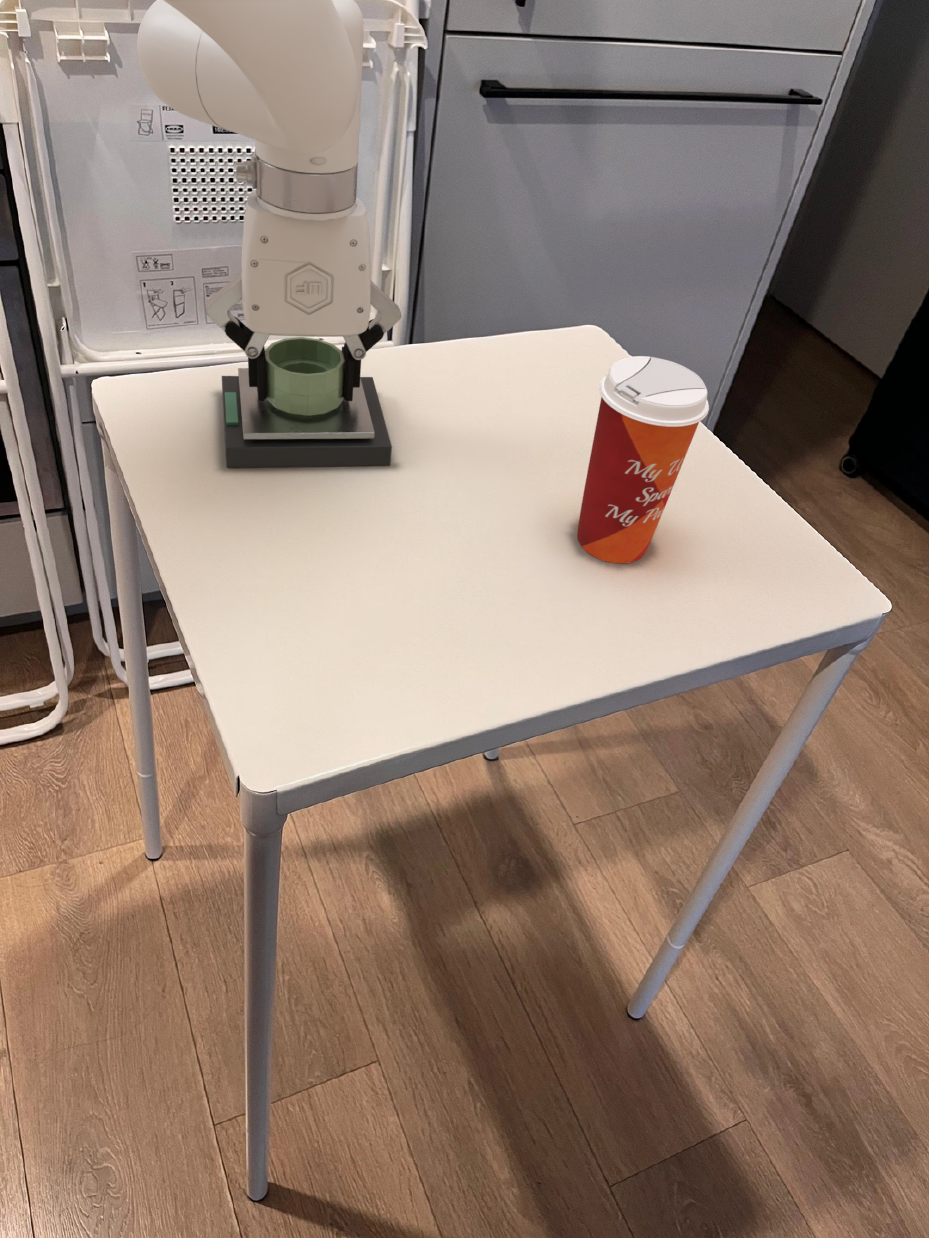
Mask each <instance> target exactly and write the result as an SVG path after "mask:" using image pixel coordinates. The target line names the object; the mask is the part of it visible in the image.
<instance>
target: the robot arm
mask: <svg viewBox="0 0 929 1238" xmlns="http://www.w3.org/2000/svg"><path fill="white" fill-rule="evenodd" d="M363 17H364V16H363V13H362V10H361V8H360V6H359V4H358V3H357V2H356V1H355V0H154V2H153V3H152V4H151V5H150V6H149V8H148V9H147V10H146V12H145V14H144V15H143V17H142V19H141V22H140V25H139V27H138V32H137V36H136V53H137V54H136V55H137V62H138V65H139V68H140V71H141V74H142V76H143V78H144V80H145V82H146V84H147V86H148V87H149V89H151V91H152V93H154V95H155V96H156V97H157V98H158V99H159V101H161V102H162V103H164V104H165V105H167V106H168V107H169V108H171V109H172V110H174V111H176V112H178V113H179V114H181V115H184V116H186V117H188V118H190V119H193V120H196V121H198V122H200V123H204V124H207V125H209V126H213V127H216V128H219V129H221V130H225V131H227V132H232V133H235V134H237V135H241V136H244V137H246V138H248V139H252V140H254V156H250V157H251V158H250V159H251V160H245V162H242V161H239V162H238V161H236V162H235V178H236V182H238V183H246V185H251V186H252V187H251V188H252V189H253V191H251V192H250V193H249V194H248V196H247V199H246V205H245V212H244V217H243V231H242V240H241V241H242V242H241V265H240V266H241V268H240V269H241V272H240V273H239V274H238V275H236V276H235V277H234V278H233V279H232V280H230V281H229V282H228V283H227V284H226V285H224V286H223V287H222V288H221V289H219V291H217V292H216V293H214V294H213V295H212V296H211V297H210V298H209V299H207V300H206V302H205V314H206V315H207V316H208V317H209V319H211V321H212V322H213V323H215V324H216V326H217V327H218V328H219V329H221V330H222V331H224V333H225V335H226V337H227V338H229V340H231V341H232V342H233V343H234V344H235V345H237V346H238V347H239V348H240V349H241V350H242V351H243V352H244V354H245V356H246V357H247V368H248V375H249V387H257V392H258V401H264V399H267V384H266V356H265V350H266V349H265V348H266V347H265V345H266V343H267V342H268V339H269V338H270V336H276V337H277V336H278V337H279V336H280V337H326V338H327V337H332V338H333V337H336V338H337V337H338V338H339V337H340V338H343V339H344V342H345V343H343V346H341V351H342V352H343V355H344V359H345V371H344V392H343V397H344V400H346V401H352V400H353V388H359V387H360V377H361V372H362V360H364V359H365V357H367V352H369V350H371V349H372V348H373V347H374V346H376V344H377V343H379V342H380V341H381V340H382V339H383V338H384V335H385V334H386V333H387V332H389V331H390V330H391V329H392V328H393V327H394V326H395V325H396V324H397V323H398V322H399V321H400V320H401V319H402V311H401V309H400V307H399V305H398V304H397V303H396V302H395V301H394V300H392V299H391V298H390V297H389V296H388V295H387V294H386V293H385V292H384V291H383V290H382V289H381V288H379V287H380V286H378V285H377V284H376V283H374V281H372V280H371V278H372V277H371V273H372V272H371V266H372V265H371V240H370V239H371V238H370V228H369V227H370V226H369V220H368V213H367V208H366V206H365V204H364V203H363V201H362V200H361V199H360V198H358V197H357V193H358V191H357V190H358V189H357V188H358V171H359V170H358V167H359V147H360V146H359V145H360V125H361V104H362V103H361V102H362V84H363V83H362V80H363V79H362V78H363V61H364V60H363V57H364V39H365V38H364V37H365V34H364V33H365V32H364V29H365V27H364V26H365V25H364V24H365V23H364V18H363ZM240 301H241V306H242V313H243V319H244V322H242V320H240V319H239V318H238V317H236V316H234V315H233V314H232V312H231V311H230V309H232V308H233V307H234V306H235V305H236V304H237V303H239V302H240ZM371 306H372V307H373V308H374V309H375V310H376V311H377V312H378V313H377V314H376V315H375V317H374V318H371ZM370 318H371V319H370ZM244 323H245V324H244Z"/></svg>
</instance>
